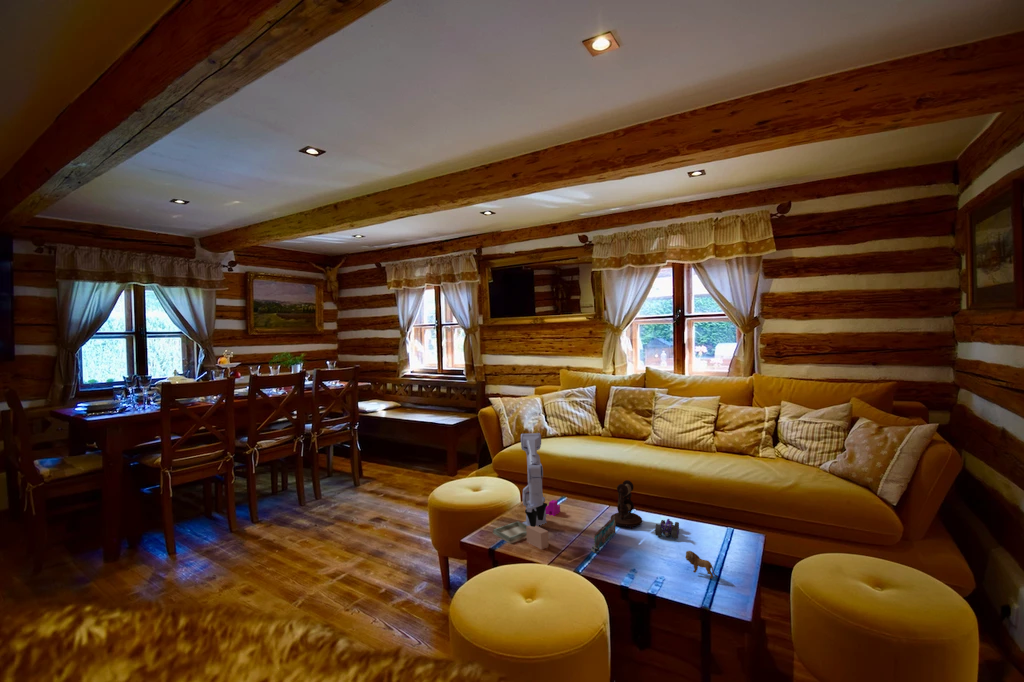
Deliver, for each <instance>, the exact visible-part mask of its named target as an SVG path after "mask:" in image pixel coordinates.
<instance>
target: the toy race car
mask: <svg viewBox="0 0 1024 682" xmlns="http://www.w3.org/2000/svg"><path fill="white" fill-rule="evenodd" d="M679 530H680V523H679V522H678V521H675V522H673V521H672V520H670V519H669V518H667V519H666V520H665V519H661V521H660V524H658V523H656V524H655V528H654V532H655V536H658V537H662V535H664V537H669V536H671V538H672V539H679V536H680V534H679Z"/></svg>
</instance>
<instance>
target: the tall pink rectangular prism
mask: <svg viewBox="0 0 1024 682" xmlns="http://www.w3.org/2000/svg"><path fill="white" fill-rule="evenodd" d="M526 532H527V538H526V543H528V544H530V545H532V546H534V547H536V548H538V549H540V550H544V549H547V548H549V531H548V530H546V529H544V528H542V527H541V526H535V527H533V526H527V527H526Z"/></svg>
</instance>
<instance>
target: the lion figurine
mask: <svg viewBox="0 0 1024 682" xmlns="http://www.w3.org/2000/svg"><path fill="white" fill-rule="evenodd" d="M685 559H686V562H687V561H688V562H689V564H691V565H692V566H693V570H692V571H693V573H697V571H698V569H699V568H698V567H700V568H705V570H706V571H707V573H706V574H707V575H710V576H709V578H710V579H713V578H714V577H716V578H719V576H718V575H717V574H716V573H715V570H714V568H713V565H712V563H711V562H710V561H709V560H707V559H702V558H700V556H699V555H698V554H696V553H695V552H694V551H691V550H687V551H686V552H685Z"/></svg>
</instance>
